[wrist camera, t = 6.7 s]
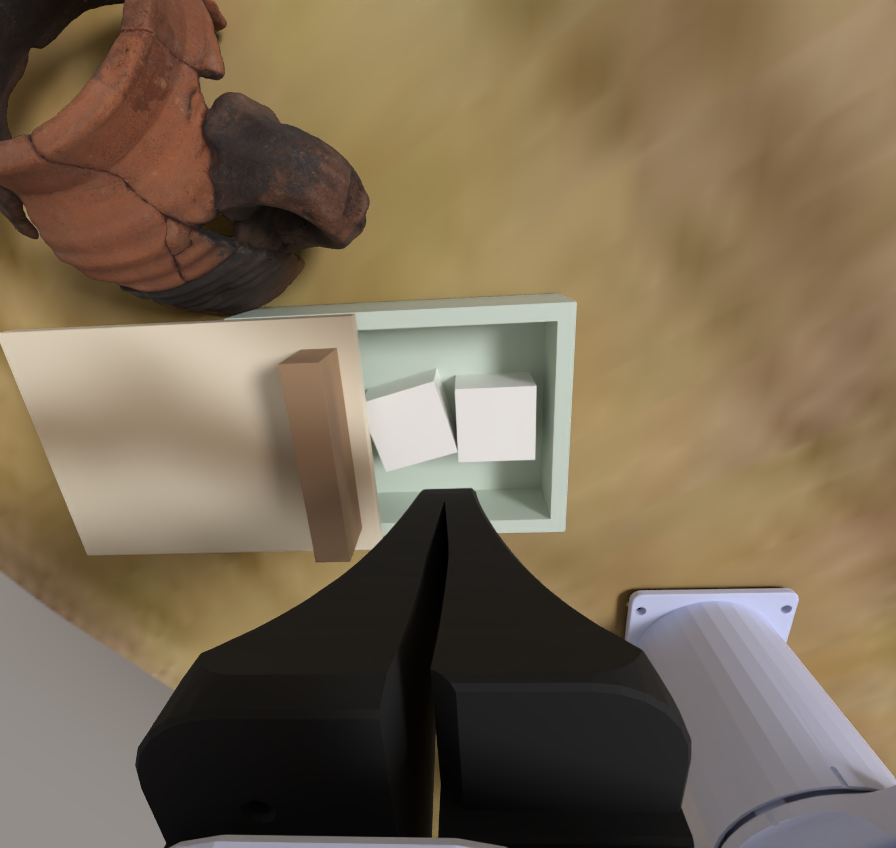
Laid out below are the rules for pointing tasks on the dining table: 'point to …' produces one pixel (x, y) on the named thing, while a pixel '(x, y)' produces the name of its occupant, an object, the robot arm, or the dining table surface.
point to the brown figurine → (168, 165)
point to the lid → (206, 434)
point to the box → (454, 353)
